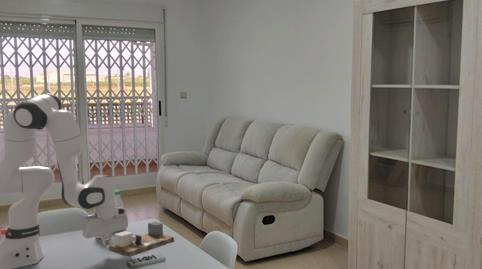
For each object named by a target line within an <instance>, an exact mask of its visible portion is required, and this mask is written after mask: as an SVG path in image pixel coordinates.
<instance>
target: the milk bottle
mask: <svg viewBox="0 0 482 269" xmlns="http://www.w3.org/2000/svg"><path fill="white" fill-rule="evenodd" d="M121 194H122V193H121V190H118V189H115V197H114V200H115V204H116V206H117V207H122V208H125V206H124V202H123V200H122V197H121V196H122V195H121Z"/></svg>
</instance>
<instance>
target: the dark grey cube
mask: <svg viewBox="0 0 482 269" xmlns="http://www.w3.org/2000/svg"><path fill="white" fill-rule="evenodd" d="M147 234H148V235H152V236H155V237H158V236H161V235H163V234H164V224H163V223H162V222H158V221H151V222H148V223H147Z"/></svg>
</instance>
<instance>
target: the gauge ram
mask: <svg viewBox="0 0 482 269" xmlns="http://www.w3.org/2000/svg"><path fill="white" fill-rule="evenodd" d="M133 241H136V236H135V234H133V232H131V231H126V230H124V231H120V232H118V233H115V234H114V244H115V245H116V246H119V247H124V246H127V245H131V244H133Z"/></svg>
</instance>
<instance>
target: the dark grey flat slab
mask: <svg viewBox="0 0 482 269" xmlns="http://www.w3.org/2000/svg"><path fill="white" fill-rule="evenodd" d="M134 236H136V241H135V244H137V245H141V236H142V235H139V234H134ZM142 245H144V244H142Z"/></svg>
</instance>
